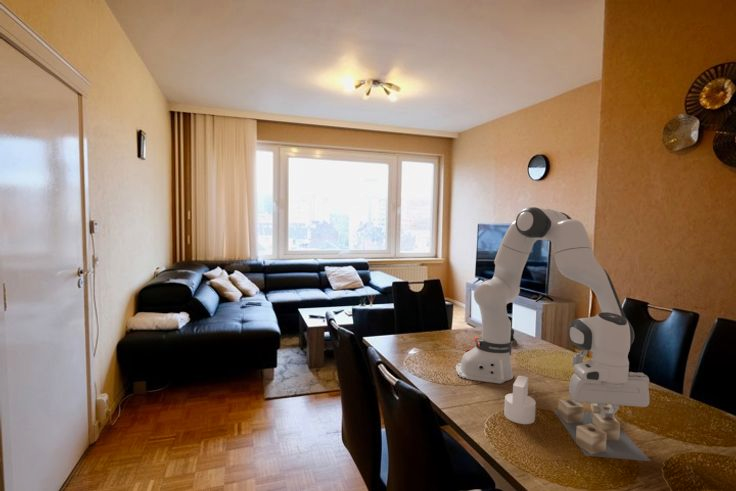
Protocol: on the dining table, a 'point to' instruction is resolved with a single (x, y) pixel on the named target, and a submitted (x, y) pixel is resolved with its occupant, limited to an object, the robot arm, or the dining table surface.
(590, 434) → the marked block
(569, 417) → the marked block
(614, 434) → the plain block
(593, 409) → the marked block
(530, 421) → the cylinder with rectangular tab
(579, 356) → the lighter
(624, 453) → the mat
